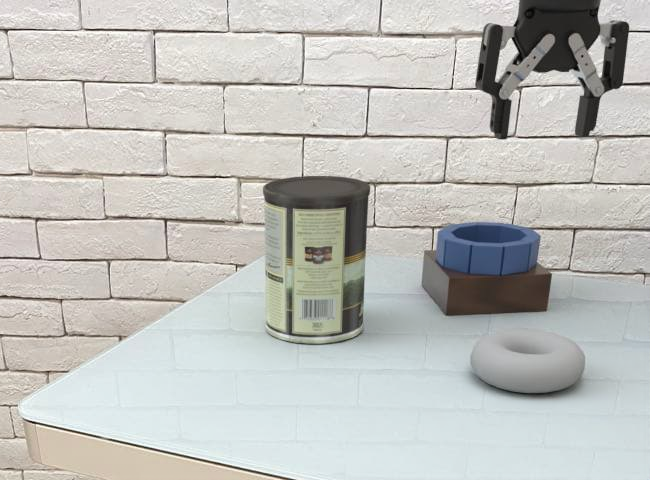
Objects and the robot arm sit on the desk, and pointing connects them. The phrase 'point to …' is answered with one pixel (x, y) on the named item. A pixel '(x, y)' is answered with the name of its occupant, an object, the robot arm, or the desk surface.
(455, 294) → the platform
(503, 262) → the ring
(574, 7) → the robot arm
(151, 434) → the desk surface
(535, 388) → the donut
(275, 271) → the coffee can
